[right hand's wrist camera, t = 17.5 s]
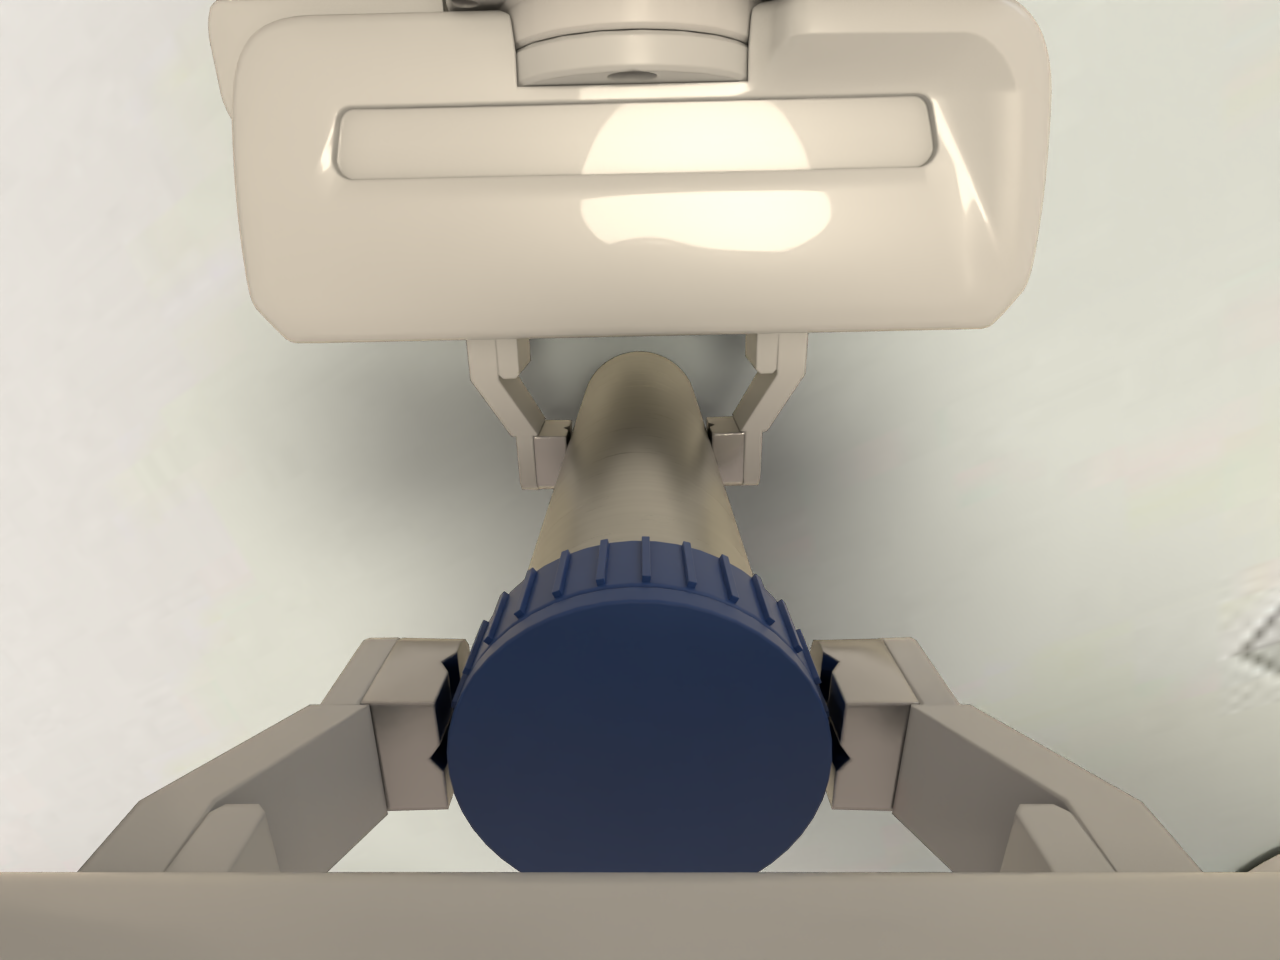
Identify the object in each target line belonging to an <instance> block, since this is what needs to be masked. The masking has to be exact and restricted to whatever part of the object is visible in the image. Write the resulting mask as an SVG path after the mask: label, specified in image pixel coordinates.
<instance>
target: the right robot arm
mask: <svg viewBox="0 0 1280 960" xmlns="http://www.w3.org/2000/svg"><path fill="white" fill-rule="evenodd" d="M469 654H470V650H469V644H468V643H467V641H466V640H465V639H437V638H401V639H400V638H368V639H366V640H364V641H363V642H362V643H361V644H360V646H359V647H358V649H357V650H356V652H355V653H354V655H353V656H352V658H351V659H350V661H349V662H348V664H347V665H346V667H345V668H344V670H343V671H342V673H341V674H340V676H339V677H338V679H337V680H336V682H335V683H334V685H333V686H332V688H331V689H330V691H329V692H328V694H327V695H326V697H325V698H324V700H323V701H322V703H321V704H319V705H308V706H307V707H305V708H303V709H301V710H300V711H298V712H296V713H294V714H292V715H291V716H289V717H287V718H285V719H284V720H282V721H280V722H278V723H276V724H275V725H273V726H271V727H269V728H268V729H266V730H264V731H262V732H261V733H259V734H257V735H255V736H253V737H252V738H250V739H248V740H246V741H245V742H243V743H241V744H239V745H237V746H236V747H234V748H232V749H230V750H229V751H227V752H225V753H223V754H222V755H220V756H218V757H216V758H214V759H213V760H211V761H209V762H207V763H206V764H204V765H202V766H200V767H199V768H197V769H195V770H193V771H191V772H190V773H188V774H186V775H184V776H183V777H181V778H179V779H177V780H175V781H174V782H172V783H170V784H168V785H167V786H165V787H163V788H161V789H160V790H158V791H156V792H154V793H152V794H151V795H149V796H147V797H145V798H144V799H142V800H140V801H139V802H138V803H137V804H136V805H135V806H134V807H133V809H132V810H131V811H130V812H129V813H128V814H127V815H126V817H125V818H124V819H123V820H122V821H121V822H120V823H119V825H118V826H117V827H116V828H115V829H114V830H113V831H112V833H111V834H110V835H109V836H108V837H107V838H106V839H105V841H104V842H103V843H102V844H101V845H100V846H99V847H98V849H97V850H96V851H95V852H94V853H93V854H92V856H91V857H90V858H89V859H88V860H87V861H86V862H85V864H84V865H83V866H82V867H81V868H80V869H79V870H78V872H0V960H1280V854H1278V855H1276V856H1274V857H1272V858H1270V859H1269V860H1267V861H1265V862H1263V863H1261V864H1260V865H1258V866H1256V867H1255V868H1253V869H1251V870H1250V871H1249V872H1203V871H1202V870H1201V869H1200V868H1199V867H1198V866H1197V864H1196V863H1195V862H1194V861H1193V860H1192V859H1191V858H1190V856H1189V855H1188V854H1187V853H1186V852H1185V851H1184V849H1183V848H1182V847H1181V846H1180V845H1179V844H1178V843H1177V841H1176V840H1175V839H1174V838H1173V837H1172V836H1171V834H1170V833H1169V832H1168V831H1167V830H1166V829H1165V828H1164V826H1163V825H1162V824H1161V823H1160V822H1159V821H1158V819H1157V818H1156V817H1155V816H1154V815H1153V814H1152V813H1151V811H1150V810H1149V809H1148V808H1147V807H1146V806H1145V804H1144V803H1143V802H1141V801H1140V800H1138V799H1136V798H1134V797H1132V796H1131V795H1129V794H1127V793H1125V792H1124V791H1122V790H1120V789H1118V788H1117V787H1115V786H1113V785H1111V784H1109V783H1108V782H1106V781H1104V780H1102V779H1101V778H1099V777H1097V776H1095V775H1094V774H1092V773H1090V772H1088V771H1087V770H1085V769H1083V768H1081V767H1079V766H1078V765H1076V764H1074V763H1072V762H1071V761H1069V760H1067V759H1065V758H1064V757H1062V756H1060V755H1058V754H1057V753H1055V752H1053V751H1051V750H1049V749H1048V748H1046V747H1044V746H1042V745H1041V744H1039V743H1037V742H1035V741H1034V740H1032V739H1030V738H1028V737H1026V736H1025V735H1023V734H1021V733H1019V732H1018V731H1016V730H1014V729H1012V728H1011V727H1009V726H1007V725H1005V724H1004V723H1002V722H1000V721H998V720H996V719H995V718H993V717H991V716H989V715H988V714H986V713H984V712H982V711H981V710H979V709H977V708H975V707H973V706H972V705H961V704H959V702H958V701H957V700H956V698H955V697H954V695H953V694H952V692H951V691H950V689H949V688H948V686H947V685H946V683H945V682H944V680H943V679H942V677H941V676H940V674H939V673H938V672H937V670H936V669H935V667H934V666H933V664H932V663H931V661H930V660H929V658H928V657H927V655H926V654H925V652H924V651H923V649H922V648H921V647H920V645H919V644H918V642H917V641H916V640H915V639H913V638H911V637H901V638H878V639H842V640H813V642H812V645H811V649H810V655H811V657H812V660H813V662H814V665H815V667H816V670H817V672H818V675H819V677H820V680H821V683H820V684H819V687H820V689H821V692H822V694H823V697H824V700H825V702H826V705H827V707H828V710H829V716H830V717H828V721H829V726H830V732H831V738H832V763H831V770H830V776H829V782H828V785H827V788H826V793H827V796H828V799H829V802H830V805H831V808H832V809H843V810H878V811H892V814H893V815H894V816H895V817H896V818H897V819H898V820H899V821H900V822H901V823H902V824H903V825H904V826H905V827H906V828H908V829H909V830H910V831H911V832H912V833H913V834H914V835H915V836H916V837H917V838H918V839H919V840H920V841H921V842H922V843H923V844H924V845H925V846H926V847H927V848H928V849H929V850H930V851H932V852H933V853H934V854H935V855H936V856H937V857H938V858H939V859H940V860H941V861H942V862H943V863H944V864H945V865H946V866H947V867H948V868H949V869H950V870H951V871H952V872H328V871H329V870H330V869H331V868H332V867H333V866H334V865H335V864H336V863H337V862H338V861H339V860H341V859H342V858H343V857H344V856H345V855H346V854H347V853H348V852H349V851H350V850H351V849H352V848H353V847H354V846H355V845H356V844H357V843H358V842H359V841H360V840H361V839H362V838H364V837H365V836H366V835H367V834H368V833H369V832H370V831H371V830H372V829H373V828H374V827H375V826H376V825H377V824H378V823H379V822H380V821H381V820H382V819H383V818H384V817H385V816H387V815H388V812H387V811H401V810H436V809H448V808H449V805H450V802H451V799H452V796H453V793H454V791H453V787H452V784H451V780H450V776H449V771H448V761H447V742H448V731H449V727H450V723H451V719H452V715H453V711H454V709H455V708H452V707H451V703H452V700H453V697H454V695H455V692H456V690H457V687H458V684H459V682H460V679H461V677H462V674H463V673H462V671H463V669H464V666H465V664H466V661H467V659H468V656H469Z"/></svg>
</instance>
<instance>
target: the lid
mask: <svg viewBox="0 0 1280 960" xmlns="http://www.w3.org/2000/svg"><path fill="white" fill-rule="evenodd" d="M462 673H463V674H462V677H461V679H460V682H459V684H458V687H457V690H456V692H455V695H454V697H453V700H452V703H451V707H452V708H455V709H454V711H453V715H452V719H451V723H450V727H449V731H448V742H447V761H448V771H449V776H450V780H451V784H452V787H453V791H454V794H455V797H456V799H457V801H458V804H459V806H460V808H461V810H462V812H463V814H464V816H465V817H466V819H467V820H468V822H469V823H470V825H471V827H472V828H473V830H474V831H475V832H476V833H477V834H478V836H479V837H480V838H481V839H482V840H483V841H484V843H485V844H486V845H487V846H488V847H489V848H490V849H491V850H493V851H494V852H495V853H496V854H497V855H498V856H499V857H500V858H501V859H503V860H504V861H505V862H507V863H508V864H510V865H511V866H512V867H514V868H515V869H517V870H518V871H519V872H759V871H761V870H762V869H764V868H765V867H767V866H768V865H770V864H771V863H773V862H774V861H775V860H776V859H777V858H779V857H780V856H781V855H782V854H783V853H784V852H786V851H787V850H788V849H789V848H790V847H791V846H792V845H793V844H794V842H795V841H796V840H797V839H798V838H799V837H800V836H801V835H802V834H803V832H804V831H805V829H806V828H807V826H808V825H809V824H810V822H811V821H812V819H813V818H814V816H815V814H816V812H817V810H818V808H819V806H820V804H821V802H822V800H823V797H824V794H825V791H826V788H827V785H828V782H829V776H830V770H831V763H832V738H831V732H830V726H829V721H828V717H830V716H829V710H828V707H827V705H826V702H825V700H824V697H823V694H822V692H821V689H820V687H819V684H820V683H821V680H820V677H819V675H818V672H817V670H816V667H815V665H814V662H813V660H812V657H811V655H810V652H809V650H808V647H807V645H806V642H805V640H804V637H803V635H802V632H801V630H800V629H798V630H795V627H794V625H793V622H792V619H791V617H790V614H789V612H788V609H787V606H786V604H785V603H784V601H783V600H780V601H778V602H777V601H776V600H775V599H774V597H773V596H772V595H771V594H770V593H769V592H768V591H767V590H766V589H765V588H764V586H763V583H762V580H761V578H760V577H759V576H758V575H756V574H755V575H754V576H753V577H750V576H749V575H748V574H746V573H745V572H744V571H742V570H741V569H739V568H737V567H736V566H734V565H732V564H730V561H729V558H728V556H726V555H723V554H722V555H721V556H720V558H718V557H716V556H713V555H711V554H709V553H706V552H704V551H701V550H698V549H694V548H691V543H690V542H686V541H683V543H682V545H679V544H673V543H666V542H658V541H650V537H649V536H642V541H623V542H612V543H609V541H608V539H603V540H600V545H597V546H592V547H588V548H585V549H582V550H579V551H576V552H573V553H570V552H569V550H568V549H567V550H565V551H562V552H561V556H560V558H559V559H557V560H555V561H553V562H551V563H549V564H547V565H545V566H543V567H542V568H540V569H539V570H537V571H536V570H535V569H534V568H533V567H532V568H531V569H529V570H528V571H527V574H526V577H525V580H523V581H522V582H521V583H520V584H519V585H518V586H517V587H516V588H514V589H513V590H512V591H511V592H510V593H509V594H507V593H506V592H503V593H502V594H501V595H500V597H499V600H498V603H497V605H496V608H495V611H494V614H493V616H492V617H491V619H490V621H489V622H487V621H485V620H483V622H482V624H481V626H480V628H479V631H478V633H477V636H476V639H475V641H474V644H473V646H472V649H471V651H470V654H469V656H468V659H467V661H466V664H465V666H464V669H463V671H462Z"/></svg>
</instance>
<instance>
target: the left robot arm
mask: <svg viewBox="0 0 1280 960" xmlns="http://www.w3.org/2000/svg"><path fill="white" fill-rule="evenodd" d="M208 30H209V40H210V44H211V49H212V54H213V59H214V64H215V68H216V73H217V78H218V83H219V88H220V92H221V96H222V99H223V102H224V105H225V107H226V110H227V112H228V114H229V115H230V117H231V119H232V140H233V160H234V179H235V191H236V202H237V212H238V222H239V230H240V238H241V246H242V253H243V260H244V267H245V273H246V279H247V284H248V289H249V293H250V296H251V299H252V302H253V304H254V306H255V308H256V309H257V310H258V311H259V312H260V313H261V314H262V315H263V316H264V318H265V319H266V320H267V321H268V322H269V323H270V324H271V325H272V326H273V327H274V328H275V329H276V330H277V331H278V332H279V333H280V334H281V335H282V336H283V337H284V338H285V339H287V340H289V341H290V342H293V343H343V342H390V341H437V340H466V344H467V353H468V362H469V371H470V380H471V382H472V383H473V385H474V386H475V387H476V389H477V390H478V391H479V393H480V394H481V395H482V397H483V398H484V400H485V401H486V402H487V404H488V405H489V406H490V408H491V409H492V411H493V412H494V413H495V415H496V416H497V417H498V419H499V420H500V421H501V423H502V424H503V426H504V427H505V428H506V430H507V431H508V432H509V434H510V435H511V436H514V437H516V444H517V455H518V466H519V476H520V484H521V487H522V490H539V489H554V488H555V484H556V481H557V478H558V475H559V472H560V469H561V466H562V463H563V460H564V456H565V453H566V450H567V447H568V444H569V441H570V438H571V435H572V420H545V419H546V418H545V417H544V415H543V414H542V412H541V410H540V409H539V407H538V406H537V404H536V403H535V401H534V400H533V398H532V396H531V395H530V393H529V392H528V390H527V389H526V387H525V386H524V384H523V382H522V381H521V379H520V378H519V374H520V373H521V372H522V371H523V370H524V368H525V367H526V366H527V365H528V363H529V362H530V361H531V357H530V343H529V339H531V338H579V337H626V336H673V335H720V334H746V337H745V356H746V358H747V359H748V360H749V362H750V363H751V364H752V365H753V367H754V368H755V369H756V370H757V371H758V372H757V374H756V375H755V377H754V379H753V380H752V382H751V384H750V385H749V387H748V389H747V391H746V392H745V394H744V396H743V397H742V399H741V401H740V402H739V404H738V406H737V407H736V409H735V411H734V412H733V414H732V415H733V416H724V417H707V424H706V431H707V434H708V437H709V441H710V444H711V447H712V450H713V453H714V456H715V459H716V462H717V465H718V468H719V472H720V475H721V478H722V481H723V484H724V486H741V485H758V484H759V481H760V474H761V453H762V432H764V431H767V430H768V429H769V427H770V426H771V424H772V423H773V421H774V420H775V418H776V417H777V415H778V414H779V412H780V411H781V409H782V408H783V406H784V405H785V403H786V402H787V400H788V399H789V398H790V396H791V395H792V393H793V392H794V390H795V389H796V387H797V386H798V384H799V383H800V381H801V380H802V378H803V377H804V375H805V371H806V357H807V343H808V333H815V332H862V331H909V330H955V329H983V328H987V327H989V326H991V325H992V324H994V323H995V322H996V321H997V320H998V319H999V318H1000V317H1001V316H1002V315H1003V314H1004V313H1005V311H1006V310H1007V309H1008V308H1009V307H1010V306H1011V305H1012V303H1013V302H1014V301H1015V300H1016V299H1017V298H1018V297H1019V295H1020V294H1021V293H1022V292H1023V291H1024V289H1025V287H1026V285H1027V283H1028V280H1029V277H1030V274H1031V271H1032V266H1033V262H1034V257H1035V252H1036V246H1037V240H1038V234H1039V227H1040V220H1041V213H1042V206H1043V198H1044V190H1045V181H1046V170H1047V159H1048V148H1049V133H1050V117H1051V92H1052V91H1051V70H1050V62H1049V55H1048V51H1047V47H1046V43H1045V40H1044V37H1043V34H1042V32H1041V30H1040V28H1039V26H1038V24H1037V22H1036V21H1035V19H1034V18H1033V16H1032V15H1031V14H1030V13H1029V11H1028V10H1027V9H1026V8H1025V7H1024V6H1023V5H1021V4H1020V3H1018V2H1017V1H1016V0H216V2H214V3H213V5H212V6H211V7H210V12H209V18H208Z"/></svg>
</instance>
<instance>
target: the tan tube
mask: <svg viewBox="0 0 1280 960" xmlns="http://www.w3.org/2000/svg"><path fill="white" fill-rule="evenodd" d="M642 536H649V537H650V541H658V542H666V543H673V544H679V545H682V543H683V541H686V542H690V543H691V548H694V549H698V550H701V551H704V552H706V553H709V554H711V555H713V556H716V557H718V558H720V556H721V555H722V554H723V555H726V556H728V558H729V561H730V564H732V565H734V566H736V567H737V568H739V569H741V570H742V571H744V572H745V573H746V574H748V575H749V576H750V577H753V574H752V571H751V568H750V565H749V562H748V559H747V555H746V552H745V549H744V546H743V543H742V540H741V537H740V534H739V531H738V527H737V524H736V521H735V518H734V515H733V512H732V509H731V506H730V503H729V500H728V496H727V493H726V490H725V487H724V484H723V481H722V478H721V475H720V472H719V468H718V465H717V462H716V459H715V456H714V453H713V450H712V447H711V444H710V441H709V437H708V434H707V431H706V428H705V425H704V422H703V419H702V416H701V413H700V409H699V406H698V403H697V400H696V397H695V394H694V391H693V388H692V386H691V383H690V381H689V380H688V378H687V376H686V375H685V374H684V372H683V371H682V370H681V369H680V368H679V367H678V366H677V365H676V364H674V363H673V362H672V361H670V360H669V359H667V358H665V357H663V356H660V355H658V354H654V353H650V352H629V353H625V354H621V355H619V356H616V357H614V358H612V359H611V360H609V361H607V362H606V363H605V364H603V365H602V366H601V367H600V368H599V369H598V370H597V371H596V372H595V374H594V375H593V376H592V378H591V380H590V382H589V383H588V386H587V388H586V391H585V394H584V397H583V401H582V404H581V407H580V410H579V413H578V416H577V419H576V422H575V425H574V428H573V432H572V435H571V438H570V441H569V444H568V447H567V450H566V453H565V456H564V460H563V463H562V466H561V469H560V472H559V475H558V478H557V481H556V484H555V488H554V491H553V494H552V497H551V500H550V503H549V506H548V509H547V512H546V515H545V519H544V522H543V525H542V528H541V531H540V534H539V537H538V540H537V543H536V547H535V550H534V553H533V556H532V559H531V562H530V565H529V568H528V570H529V569H531V568H532V567H533V568H534V569H535V570H536V571H537V570H539V569H540V568H542V567H543V566H545V565H547V564H549V563H551V562H553V561H555V560H557V559H559V558H560V556H561V552H562V551H565V550H567V549H568V550H569V552H570V553H573V552H576V551H579V550H582V549H585V548H588V547H592V546H597V545H600V540H603V539H608V541H609V543H612V542H623V541H642Z"/></svg>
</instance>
